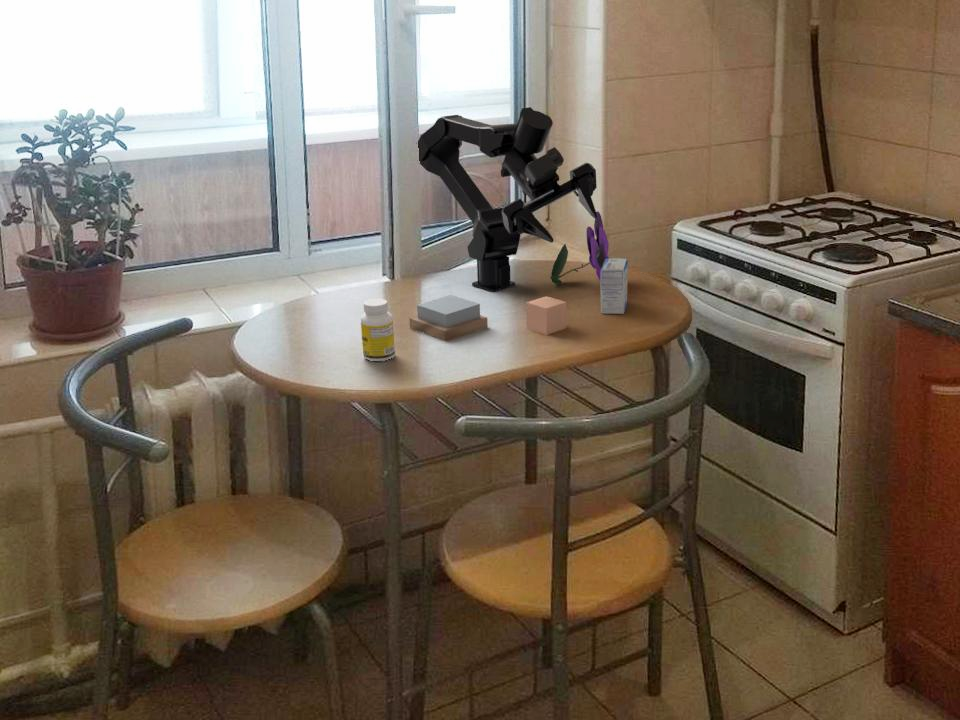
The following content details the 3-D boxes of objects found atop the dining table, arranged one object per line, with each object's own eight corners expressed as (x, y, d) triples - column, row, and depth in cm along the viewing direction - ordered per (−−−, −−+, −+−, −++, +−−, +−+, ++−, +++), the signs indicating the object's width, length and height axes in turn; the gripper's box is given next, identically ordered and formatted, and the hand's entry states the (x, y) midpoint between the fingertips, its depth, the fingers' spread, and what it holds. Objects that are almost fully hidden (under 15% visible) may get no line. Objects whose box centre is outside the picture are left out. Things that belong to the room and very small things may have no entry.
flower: (558, 321, 220) (618, 295, 214) (522, 254, 217) (583, 225, 211) (575, 299, 233) (633, 273, 227) (542, 235, 230) (599, 208, 224)
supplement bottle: (363, 352, 192) (359, 297, 188) (395, 350, 192) (391, 296, 188) (363, 363, 187) (359, 307, 183) (395, 361, 187) (392, 306, 183)
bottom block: (410, 331, 203) (409, 318, 202) (451, 318, 209) (451, 305, 208) (445, 344, 196) (444, 330, 195) (487, 330, 202) (487, 317, 201)
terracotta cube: (526, 328, 201) (526, 302, 199) (546, 322, 204) (546, 296, 202) (546, 335, 197) (546, 308, 196) (566, 328, 201) (566, 302, 199)
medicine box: (624, 315, 206) (625, 270, 203) (600, 314, 207) (600, 269, 204) (627, 302, 214) (628, 258, 211) (604, 301, 215) (604, 257, 211)
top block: (417, 318, 202) (417, 304, 201) (451, 307, 207) (450, 294, 206) (446, 328, 197) (445, 314, 196) (480, 317, 201) (479, 303, 201)
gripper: (480, 167, 199) (526, 225, 191) (569, 120, 202) (617, 176, 194) (488, 206, 208) (531, 263, 201) (572, 161, 211) (618, 215, 204)
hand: (574, 228), depth 199 cm, fingers open, 9 cm apart
